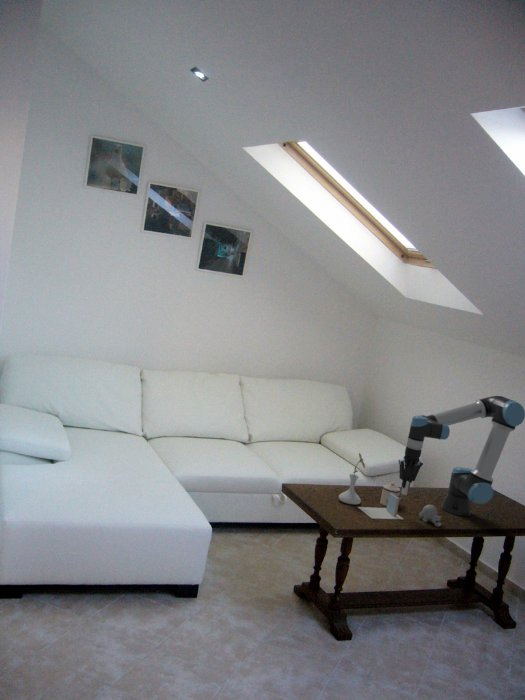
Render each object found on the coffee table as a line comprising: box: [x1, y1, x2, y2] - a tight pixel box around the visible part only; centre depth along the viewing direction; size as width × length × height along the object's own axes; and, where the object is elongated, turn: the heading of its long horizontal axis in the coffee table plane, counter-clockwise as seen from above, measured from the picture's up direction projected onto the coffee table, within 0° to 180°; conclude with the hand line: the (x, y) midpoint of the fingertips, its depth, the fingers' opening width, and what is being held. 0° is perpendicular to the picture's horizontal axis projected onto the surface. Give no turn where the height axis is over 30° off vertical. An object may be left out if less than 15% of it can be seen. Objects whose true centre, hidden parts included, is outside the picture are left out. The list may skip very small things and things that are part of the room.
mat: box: [357, 506, 404, 520], centre depth 334 cm, size 18×14×1 cm
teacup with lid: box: [379, 482, 403, 507], centre depth 350 cm, size 12×9×12 cm
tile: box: [385, 493, 401, 516], centre depth 335 cm, size 2×7×9 cm, turn 21°
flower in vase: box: [337, 452, 366, 505], centre depth 343 cm, size 13×11×25 cm
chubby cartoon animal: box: [418, 504, 443, 528], centre depth 332 cm, size 7×12×8 cm, turn 32°
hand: (403, 494), depth 337 cm, fingers closed
